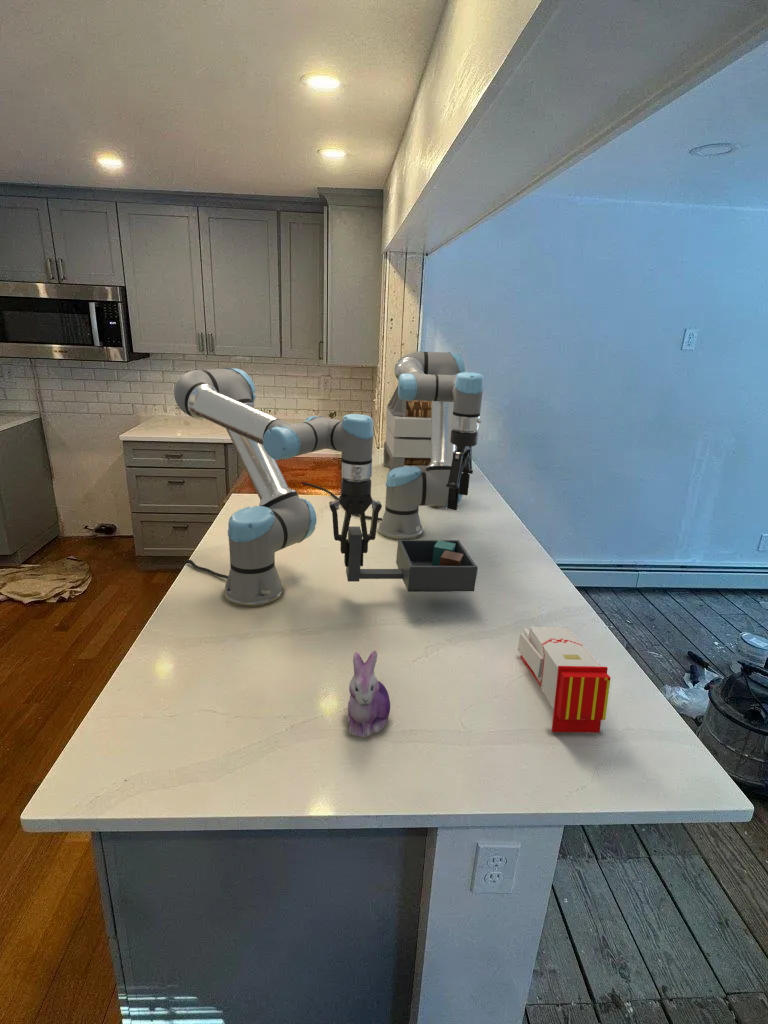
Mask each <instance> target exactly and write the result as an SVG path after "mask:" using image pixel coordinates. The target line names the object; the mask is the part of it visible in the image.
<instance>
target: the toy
mask: <svg viewBox="0 0 768 1024" xmlns="http://www.w3.org/2000/svg"><path fill="white" fill-rule="evenodd" d="M518 638H519V639H518V646H517V651H518V653H519V654H520V659H521V660H522V662H523V663H524V665H525V666H526V668H527V669H528V670H529V672H530V673H531V675H532V676H533V678H534V679H535V681H536V683H537V684H538V685H539V687H541V691H542V692H543V694H544V695H545V697H546V698H547V701H548V702H549V704H550V705H551V707H552V709H553V714H552V724H551V732H552V733H586V734H587V733H593V734H595V733H597V734H600V732H601V724H602V721H606V719H607V711H608V710H607V709H608V701H609V694H610V686H611V676H610V675H609V674H608V669H609V668H608V666H601V665H600V663H599V662H598V661H597V660H596V658H594V656H593V655H592V654H591V652H589V651H588V649H587V648H586V647H585V646H584V644H583V643H582V642H581V640H579V639H578V637H577V636H576V635H575V633H573V631H572V630H571V629H570V628H569V627H557V626H556V627H555V626H554V627H553V626H529V628H524V629H523V632H520V633H519V637H518Z"/></svg>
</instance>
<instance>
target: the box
mask: <svg viewBox="0 0 768 1024" xmlns="http://www.w3.org/2000/svg"><path fill="white" fill-rule="evenodd" d="M347 539H348V542H349V552H348V566H345V574H346V579H347V582H349V583H350V582H351V583H354V582H356V583H357V582H360V580H402V581H403V584H404V586H405V588H406V591H407V593H439V592H440V593H443V592H444V593H453V592H455V593H458V592H460V593H461V592H462V593H463V592H467V593H468V592H470V593H471V592H475V590H476V589H475V588H476V583H477V575H478V565H477V563H476V562H475V561H474V559H473V558H472V557H471V555H470V553H468V551H467V550H466V548H465V547H464V546H463V543H461V541H460V540H459V539H458V540H457V539H411V540H397V546H396V547H397V548H396V559H395V564H396V566H397V568H361V566H360V564H361V549H362V539H363V536H362V529H361V526H355V525H354V526H353V525H352V526H350V525H349V528H348V533H347ZM438 540H439V541H444V542H450V543H455V544H456V545H455V552H456V553H461V554H463V561H462V566H432V559H433V551H434V546H435V544H436V543H437V541H438Z"/></svg>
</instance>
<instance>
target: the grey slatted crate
mask: <svg viewBox="0 0 768 1024" xmlns="http://www.w3.org/2000/svg"><path fill="white" fill-rule="evenodd" d="M431 407H432V401H408V400H401V399H399V397H398V385H397V386H396V388H395V390H394V392H393V394H392V395H391V398H390V400H389V402H388V404H387V405H386V413H385V414H386V415H385V423H386V428H385V438H384V442H383V466H384V467H388V468H389V471H391V470H392V469H395V468H398V467H404V466H413V467H427V466H428V465H429V464H430V462H431ZM455 450H457V446H456V445H455Z"/></svg>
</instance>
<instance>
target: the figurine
mask: <svg viewBox="0 0 768 1024" xmlns="http://www.w3.org/2000/svg"><path fill="white" fill-rule="evenodd" d="M377 660H378V651H377V650H373V651H372V652H371V653H369V656H368V657H367V660H366V661H365V662H364V660H363V658H362V657H361V655H360V653H359V652H357V651H355V652H354V654H353V659H352V663H353V675H352V677H351V680H350V682H349V686H348V687H349V688H348V690H349V694H350V696H349V700H348V703H347V717H346V721H347V725H348V732H349V734H351V735H352V736H357V737H359V738H360V737H361V738H367V737H369V736H371V735H372V734H377V733H380V732H381V731H382V730H383V728H384V727H385V726H386V725H387V723H388V721H389V716H390V712H391V700H390V695H389V691H388V689H387V688H386V687H385V685H384V684H383V682H381V681H379V680H378V678H377V676H376V674H375V669H376V665H377Z"/></svg>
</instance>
